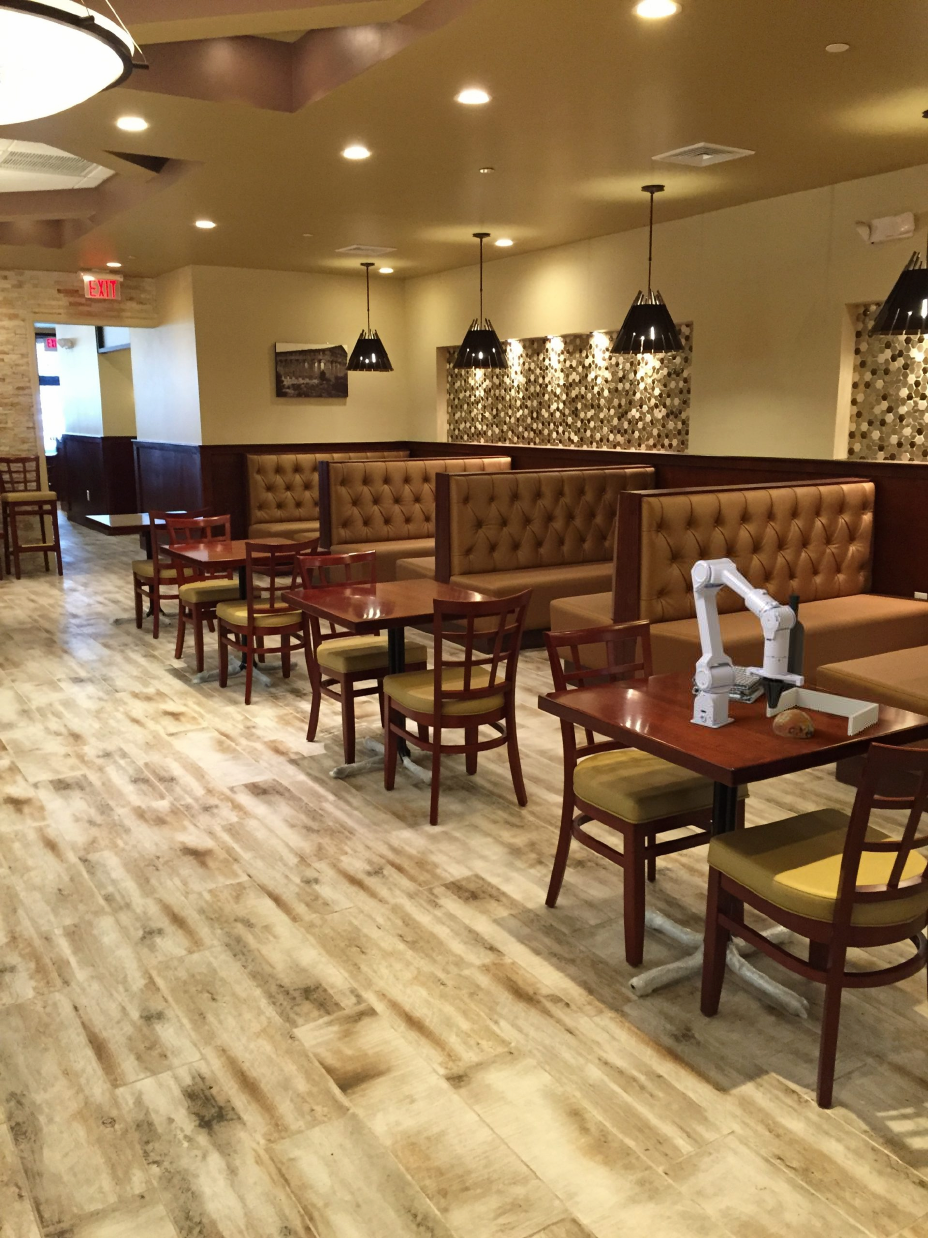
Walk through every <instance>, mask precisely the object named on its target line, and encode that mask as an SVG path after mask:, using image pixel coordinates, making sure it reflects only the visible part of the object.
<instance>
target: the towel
mask: <svg viewBox="0 0 928 1238" xmlns="http://www.w3.org/2000/svg"><path fill="white" fill-rule="evenodd" d="M716 665H718V664H713V665H711V666H716ZM733 667H734V669H735V671H736V681H735V683H734V685H732V686H731V690H729V700H728V701H732V702H733V701H734V702H740V703H746V704H752V703H753V702H754V701H756V700H757V699H758V698H759V697H760V696H762V694H765V692H764V689H763V687H762V686H761V681H762V680H763V678H762V677H757V676H752V675H751V676H748V675H746V673H747V668H748V667H747V666H745V667H744V666H739V665H733ZM691 682H692V683H693V685H695V686H694V687H693V689H692V691H691V693H692V694H694V695H696V696H698V695H699V694H700V693H701V690H700V689H699V686H698V685H697V683H696V675H694V676H693V677H692V679H691Z"/></svg>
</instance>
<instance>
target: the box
mask: <svg viewBox="0 0 928 1238" xmlns="http://www.w3.org/2000/svg"><path fill="white" fill-rule="evenodd" d="M795 705H797V706H795ZM879 705H880V704H879V703H876V702H875V703H874V702H870V701H864V700H860V699H856V698H855V699H854V698H850V697H845V696H840V695H834V694H830V693H825V692H821V691H815V690H811V689H807V688H806V689H805V688H802V687H801V688H796V687H795V688H792V689H790V690H788V691H785V692H783V693H782V695H781V697H780V699H779V702H778V706H777V708H775V709H771V708H768V702H767V701H766V717H768V718H771V717H773V716H775V715H779V714H780V713H781V712H784V710H785V711H787V710H789V709H791V708H793V706H794V707H800V708H806V709H809V708H810V710H814V711H818V710H819V711H818V712H823V713H827V714H834V715H838V716H842V717H847V718H848V726H847V735H848V736H850V735H851V737H852V736H854V735H856V734H858V733H860V732H861V731H863V730H865V729H867V728H869V727H871V726H872V725H871V724H873V723H875V724H876V722H877V723H878V720H879V707H880V706H879ZM788 708H789V709H788ZM786 709H787V710H786ZM870 725H871V726H870ZM873 725H874V724H873ZM868 726H869V727H868ZM866 727H867V728H866ZM864 728H865V729H864ZM859 731H860V732H859Z"/></svg>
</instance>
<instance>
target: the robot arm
mask: <svg viewBox="0 0 928 1238" xmlns="http://www.w3.org/2000/svg"><path fill="white" fill-rule="evenodd" d="M690 573H691V580H692V586H693V596H694V597H693V598H694V604H695V611H696V617H697V626H698V631H699V638H700V643H701V644H700V645H701V650H702V656H701V657H700V658H699V660H698V661H697V662H696V663H695V668H696V670H695V671H696V672H695V676H696V683H697V685H698V686H699V689H700V690H701V693H700V694H699V695H696V697H695V699H694V702H693V703H694V704H693V718H692V719H691V720H690V723H693V724H697V725H700V726H706V727H710V728H713V729H718V728H720V727H722V726H725V725H727V724H730V723H732V722H734V721H735V719H734V718H731V717H729V701H730V700H729V690H731V686H732V685H734V683H735V681H736V671H735V669H734V667H733V666H734V664H733V661H732V658H731V657H729V656H728V655H727V654H726V653H724V647H723V640H722V634H721V633H722V632H721V627H720V621H719V613H718V606H717V599H716V595H717V593H718V592H719V591H720V590H721V588H722V587H724V586H728V587H729V588H730V589H731V590H733V591H735V592H736V593H737V594H738V595H740V597H742V598H743V599H744V604H745V607H747V608H748V610H750V611H751V612H752V613H754V615H755V616H756V617H758V618H759V619H760V625H761V628H762V630H763V635H764V636H763V637H764V647H763V649H764V650H763V666H762V667H754V666H749V667H748V668H747V673H746V675H748V676H751V675H752V676H757V677H762V678H763V680H762V681H761V687H763V689H764V694H765V698H766V703H767V702H768V708H771V709H775V708H777V706H778V702H779V699H780V697H781V695H782V692H783V691H784V689H785V687H786V686H787V684H788V683H792V684H796V685H798V686H801V687H802V686H803V685H805V676H803V675H802V676H798V675H795V674H792V673H789V672H787V664H788V649H789V634H790V629H791V628H792V627H793V626H794V625H795V621H796V617H795V614H794V612H793V610H792V609H791V608H790V607H789V605H782V604H780V603H779V602H778V601H777V600H775V599H774V598H772V597H771V596H770V595H769V594H768V591H767V590H766V589H761V588H755V587H754V586H753V585H752V584H750V582H749V581H748V580H747V579H746V578H745V577H744V576H743V575H742V574H741V573H740V572H739V571H738V569H737V564H736V563H734V562H733V561H732V560H731V559H730V558H727V557H724V558H719V559H717V558H716V559H710V560H697V561H696V562H695V564H694V565H693V567H692V568H691V570H690ZM714 664H718V665H716V666H711V665H714Z"/></svg>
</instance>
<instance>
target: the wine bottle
mask: <svg viewBox="0 0 928 1238" xmlns="http://www.w3.org/2000/svg"><path fill="white" fill-rule="evenodd" d="M800 597H801V595H800V594H796V593H792V594H788V606H789V607H790V608H791V609H792V610H793V612H794V614H795V617H796V621H795V625H794V626H793V627H792V628H791V629H790V634H789V649H788V664H787V672H789V673H792V674H795V675H798V676H802V677H803V666H804V665H803V663H804V652H805V651H804V649H805V648H804V647H805V635H806V629H805V626H804V624H803V623H802V622H801V620H799V610H800V609H799V606H800V599H801V598H800ZM795 687H796V688H801V689H802V685H801V686H798V685H796V684H792V683H788V684H787V686H786V687H785V689H784V691H783V692H785V691H788V690H790V689H792V688H795ZM783 692H782V693H783Z"/></svg>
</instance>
